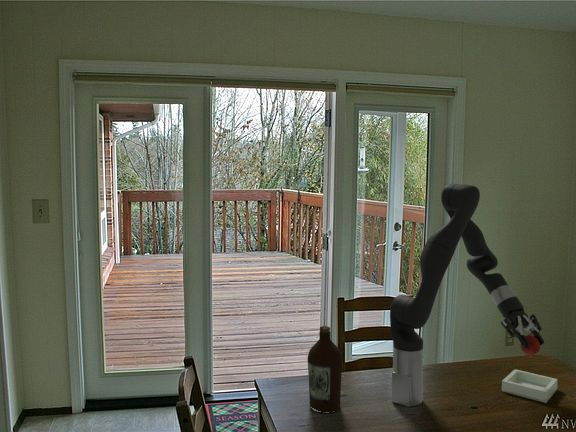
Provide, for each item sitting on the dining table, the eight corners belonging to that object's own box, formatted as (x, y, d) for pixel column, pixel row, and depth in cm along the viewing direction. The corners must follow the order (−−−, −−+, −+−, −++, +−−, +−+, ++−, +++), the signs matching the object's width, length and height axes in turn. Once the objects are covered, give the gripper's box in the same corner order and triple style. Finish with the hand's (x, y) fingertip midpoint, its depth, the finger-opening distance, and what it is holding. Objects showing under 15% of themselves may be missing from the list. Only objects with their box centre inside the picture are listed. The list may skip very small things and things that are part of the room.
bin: (546, 403, 153) (546, 392, 153) (501, 391, 162) (501, 380, 162) (557, 389, 163) (557, 379, 163) (514, 378, 172) (514, 369, 172)
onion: (516, 355, 163) (517, 331, 163) (528, 352, 166) (529, 329, 165) (531, 360, 158) (532, 336, 158) (543, 358, 161) (544, 334, 160)
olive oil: (317, 396, 159) (316, 320, 157) (347, 403, 154) (347, 325, 152) (301, 409, 150) (301, 329, 148) (333, 418, 144) (333, 334, 143)
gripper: (497, 297, 165) (526, 343, 155) (528, 293, 170) (558, 337, 160) (484, 309, 170) (512, 354, 160) (515, 305, 176) (543, 348, 166)
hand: (534, 345), depth 160 cm, fingers closed on onion, 5 cm apart
